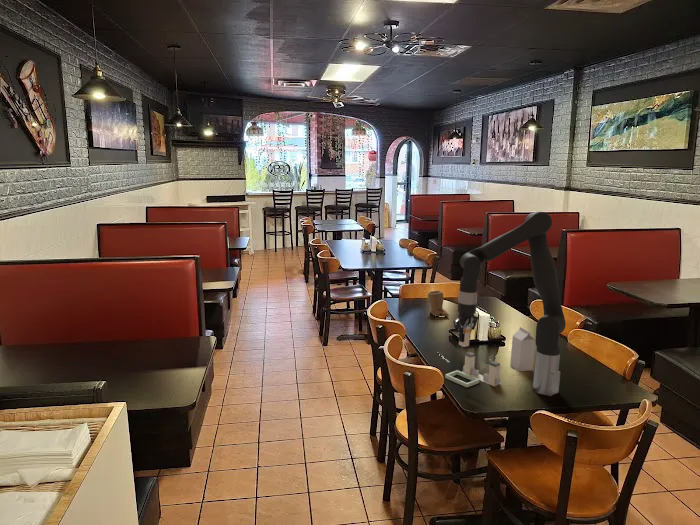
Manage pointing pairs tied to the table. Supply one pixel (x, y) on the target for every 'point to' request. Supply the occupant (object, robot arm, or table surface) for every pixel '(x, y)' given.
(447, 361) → the butter knife
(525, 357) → the milk carton
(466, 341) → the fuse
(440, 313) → the brown boot
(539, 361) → the robot arm
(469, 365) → the block
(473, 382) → the tray
